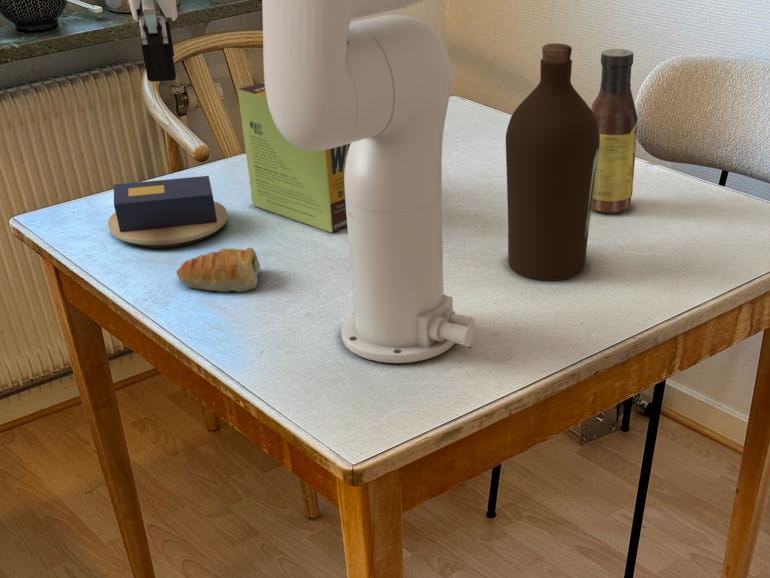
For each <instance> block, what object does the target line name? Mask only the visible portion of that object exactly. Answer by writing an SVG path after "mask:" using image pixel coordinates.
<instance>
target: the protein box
mask: <svg viewBox="0 0 770 578" xmlns="http://www.w3.org/2000/svg"><path fill="white" fill-rule="evenodd" d="M237 96H238V103H239V110H240V111H239V112H240V118H241V127H242V133H243V141H244V148H245V156H246V164H247V170H248V172H247V173H248V178H249V187H250V194H251V201H252V202H251V203H252V206H254V207H256V208H259V209H263V210H265V211H268V212H270V213H273V214H277V215H279V216H281V217H285V218H287V219H291V220H293V221H297V222H299V223H302V224H305V225H308V226H311V227H314V228H317V229H319V230H322V231H325V232H328V233H334V232H337V231H339V230H341V229H343V228H346V227H347V215H346V202H345V187H344V172H345V164H346V158H347V154H348V150H349V147H350V144H346V145H343V146H340V147H335V148H331V149H327V150H321V151H307V150H302V149H299V148H297V147H295V146H293V145H292V144H290V143H289V142H288V141H287V140H286V139H285V138H284V137H283V136H282V135H281V133H280V132H279V130H278V129H277V127H276V125H275V123H274V121H273V119H272V116H271V113H270V110H269V107H268V102H267V97H266V91H265V82H264V81H262V82H259V83H255V84H251V85H247V86H244V87H241V88H238V89H237Z"/></svg>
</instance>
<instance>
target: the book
mask: <svg viewBox="0 0 770 578" xmlns="http://www.w3.org/2000/svg"><path fill="white" fill-rule="evenodd" d="M113 207H114V211H115V212H114V213H112V215H111V216H110V217H109V219H108V221H107V226H108V231H109V232H110V234H111V235H112V236H114V237H115V238H116V239H118V240H121V241H124V242H125V241H126V242H125V243H127V242H131V243H136V244H145V245H165V244H175V243H182V242H187V241H191V240H195V239H199V238H202V237H204V236H207V235H209V234H211V233H214V232H215V231H217V230H218V231H219V230H220V229H221V228H223V226H224V225H225V224H226V222H227V221H228V211H227V209H226V207H225V206H224V205H223V204H221V203H220V202H218V201H217V200H214V195H213V190H212V185H211V180H210V176H209V175H204V176H203V175H201V176H200V175H199V176H192V177H191V176H190V177H181V178H180V177H179V178H170V179H169V178H168V179H159V180H148V181H138V182H126V183H115V184H113ZM218 231H217V232H218ZM214 234H215V233H214Z"/></svg>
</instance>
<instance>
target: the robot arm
mask: <svg viewBox="0 0 770 578" xmlns="http://www.w3.org/2000/svg"><path fill="white" fill-rule="evenodd" d="M127 1H128V5H129V8H130V12H131V15H132V19H133V20H134V21H135V22H137V23H139V28H140V35H141V40H142V43H141V44H140V45H141V51H142V56H143V63H144V68H145V73H146V78H147V81H149V82H150V83H151V82H152V83H153V82H168V81H171V82H172V81H175V80H176V79H177V73H176V72H177V71H176V67H175V62H174V61H175V60H174V57H175V51H174V44H173V38H172V33H171V27H170V21H169V20H167V19H169V18H171V21H172V22H175V21H176V20H177V19H178V8H177V7H178V6H177V0H127ZM425 1H426V0H262V1H261V4H262V6H261V7H262V8H261V9H262V51H263V52H262V54H263V55H262V57H263V58H262V59H263V79H264V81H263V82H265V91H266V97H267V102H268V107H269V110H270V113H271V116H272V119H273V121H274V123H275V125H276V127H277V129H278V130H279V132H280V133H281V135H282V136H283V137H284V138H285V139H286V140H287V141H288V142H289V143H290V144H292V145H293V146H295V147H297V148H299V149H302V150H307V151H321V150H327V149H331V148H335V147H340V146H343V145H346V144H350V147H349V150H348V154H347V158H346V164H345V172H344V187H345V202H346V215H347V226H346V227H347V237H348V239H347V240H348V249H349V250H348V251H349V264H350V277H351V288H352V290H351V291H352V300H353V301H352V303H353V311H352V312H351V313H350V314H349V315H347V317H346V318H345V319H344V320H343V321H342V324H341V327H340V330H341V331H340V333H341V334H340V335H341V340H342V343H343V344H344V346H345V347H346V349H348V350H349V351H350V352H351V353H352V354H355V355H357V356H358V357H361V358H364V359H366V360H369V361H374V362H378V363H386V364H387V363H388V364H405V363H406V364H407V363H416V362H421V361H425V360H428V359H432V358H435V357H437V356H440V355H442V354H443V353H445V352H446V351H448V350H450V349H451V348H452V347H453V346H454V345H455V344H458V345H461V346H464V347H465V346H466V347H469V346H470V345H471V344H472V342H473V340H474V335H475V333H474V325H475V319H474V318H473V317H471V316H467V315H464V314H458V313H456V311H455V310H454V297H453V296H450V295H447V294H445V293H444V251H443V250H444V249H443V248H444V247H443V246H444V245H443V244H444V243H443V200H442V197H443V178H442V176H443V171H442V170H443V165H442V164H443V163H442V162H443V161H442V160H443V142H444V130H445V125H446V117H447V111H448V106H449V101H450V94H451V82H452V69H451V68H452V67H451V62H450V61H451V60H450V56H449V53H448V50H447V47H446V45H445V43H444V41H443V39H442V37H441V36H440V35H439V33H438V32H437V31H436V30H435V28H433V27H432V26H431V25H430V24H428V22H426V21H424V20H422V19H420V18H417V17H414V16H410V15H405V14H389V15H388V14H387V15H379V16H375V17H371V18H366V19H361V20H357V21H352V20H354V19H359V18H364V17H367V16H368V17H369V16H372V15H378V14H382V13H388V12H393V11H396V10H400V9H401V10H402V9H405V8H408V7H411V6H414V5H418V4H420V3H423V2H425ZM351 21H352V22H351Z"/></svg>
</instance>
